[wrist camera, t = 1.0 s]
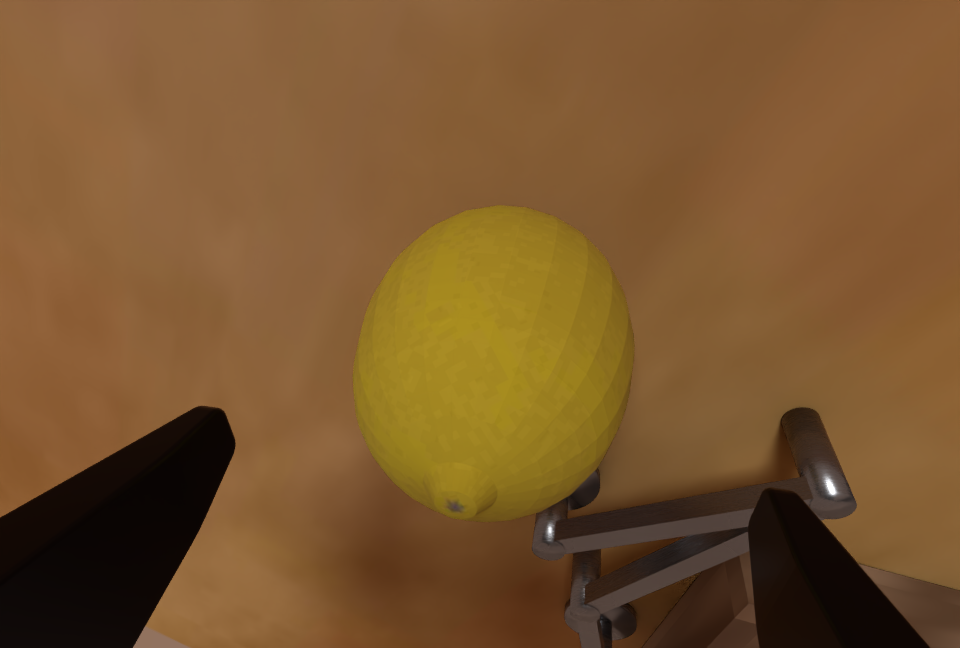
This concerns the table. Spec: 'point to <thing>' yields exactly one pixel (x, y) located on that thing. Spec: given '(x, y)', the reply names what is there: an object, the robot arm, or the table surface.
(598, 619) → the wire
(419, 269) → the lemon
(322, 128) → the table surface
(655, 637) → the tray
